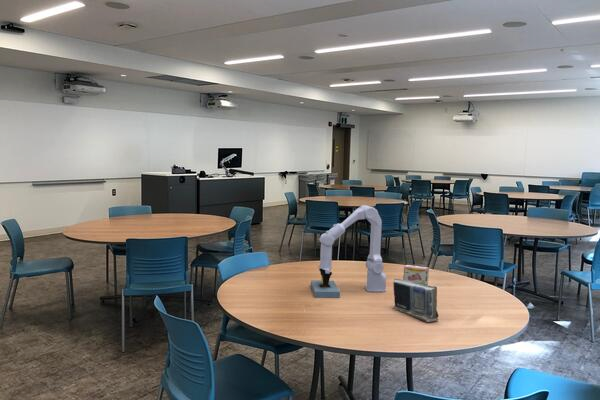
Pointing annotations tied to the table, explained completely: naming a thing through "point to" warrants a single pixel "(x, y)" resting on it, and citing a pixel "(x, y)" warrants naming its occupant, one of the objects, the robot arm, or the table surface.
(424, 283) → the candy bar box
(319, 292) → the jig
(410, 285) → the radio
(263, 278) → the table surface
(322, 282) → the brass cylinder
